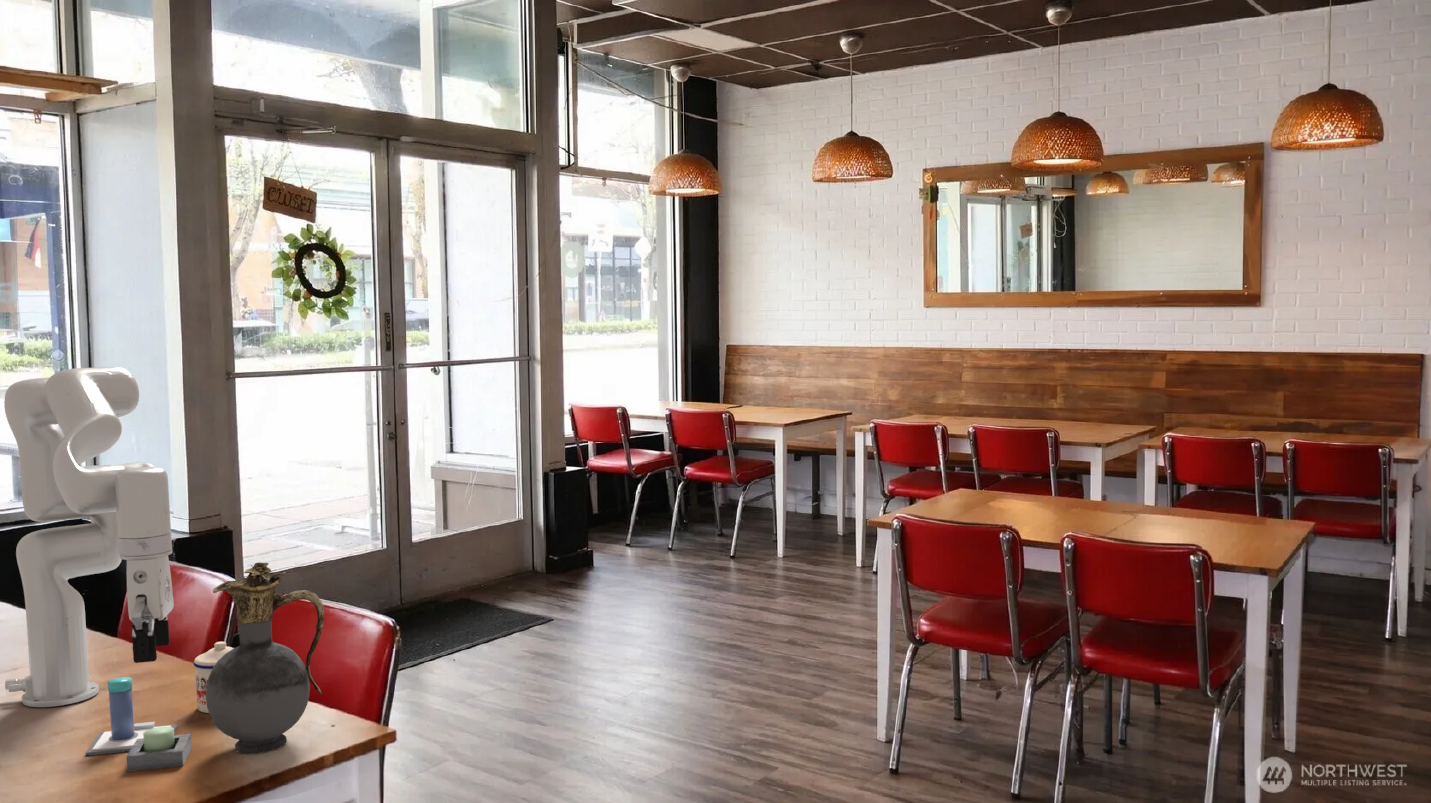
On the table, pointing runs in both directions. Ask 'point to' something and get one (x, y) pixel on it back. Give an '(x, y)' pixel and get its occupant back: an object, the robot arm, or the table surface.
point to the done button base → (159, 755)
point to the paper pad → (108, 745)
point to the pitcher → (260, 668)
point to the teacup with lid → (207, 671)
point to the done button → (159, 739)
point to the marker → (121, 708)
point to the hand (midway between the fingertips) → (152, 653)
